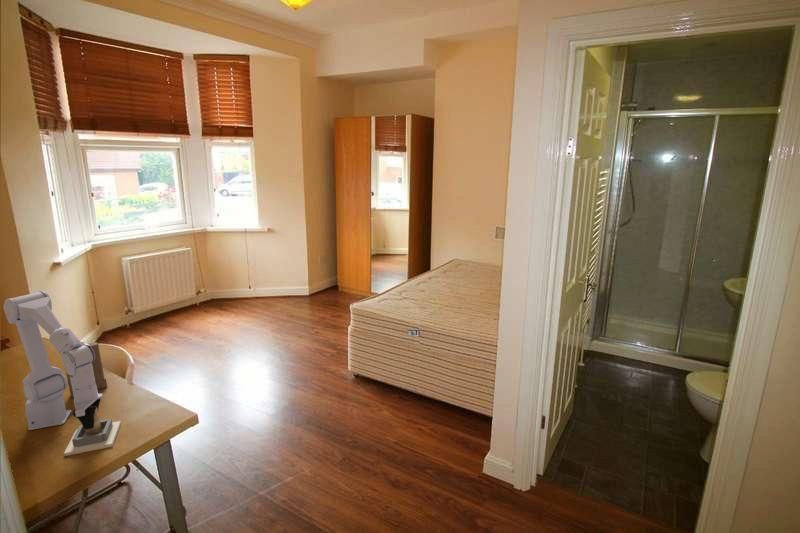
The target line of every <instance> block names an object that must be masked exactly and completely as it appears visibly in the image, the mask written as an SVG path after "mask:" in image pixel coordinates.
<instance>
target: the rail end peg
mask: <svg viewBox="0 0 800 533" xmlns="http://www.w3.org/2000/svg"><path fill="white" fill-rule="evenodd" d="M89 407H90V408H91V407H96V410H95V414H94V427H93V428H91V429H85V433H86V436H90V435H95V434H98V433H100V432H101V424H100V421H101V420H100V415H99V409H97V406H89Z"/></svg>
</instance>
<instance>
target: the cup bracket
mask: <svg viewBox="0 0 800 533" xmlns="http://www.w3.org/2000/svg"><path fill="white" fill-rule="evenodd" d="M100 424H101V432H100V433H98V434H95V435H90V436H86V433H85V428H84V427H83V425H82V424H80V425H79V426H78V427H77V429H76V430H75V431H74V433H73V435H72V437H71V439H70V440H69V443H68V445H67V447H66V448H65V451H64V453H63V455H64V457H66V456H72V455H77V454H81V453H87V452H91V451H97V450H102V449H106V448H111V447H113V446H114V444H115V441H116V438H117V436H118V433H119V430H120V427H121V425H122V421H121V420H118V421H113V420H112V418H111V419H101V420H100Z"/></svg>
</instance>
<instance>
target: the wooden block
mask: <svg viewBox="0 0 800 533" xmlns="http://www.w3.org/2000/svg"><path fill="white" fill-rule="evenodd" d="M88 344H89V345H90V346H91V347H92V349H93V350H94V353H95V360H94V361H92V362H91V363H92V366H93V372H94V377H95V383H96V385H97V391H99V390H102V389H104V388H107V387H108V383H107V378H106V377H105V374H104V368H103V363H102V362H103V361H102V358H101V352H100V346H99V343H98V342H96V341H95V342H89V343H88ZM64 370H65V373H66V379H67V382H68V389H69V393H70V396H71V397H72V398H73V399H74V396H73V391H72V386H71V381H70V376H69V374H67V372H66V369H65V368H64Z"/></svg>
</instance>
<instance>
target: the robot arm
mask: <svg viewBox="0 0 800 533" xmlns="http://www.w3.org/2000/svg"><path fill="white" fill-rule="evenodd" d="M52 304H53V303H52V299H51V297H50V295H49V293H47V292H46V291H44V290H39V291H38V292H37V291H36V292H33V293H29V294H25V295H20V296H16V297H11V298H9V297H8V298H6V299H5V300H4V302H3V306H2V307H3V310H4V314H5V317H6V320H7V322H8V324H11V325H12V324H13V325H15V326H16V329H17V331H18V335H19V339H20V342H21V344H22V347H23V350H24V353H25V356H26V359H27V361H28V362H27V363H28V364H29V365H28V366H29V368H30V369H29V370H30V372H29V373H28V374H27V376H26V377H25V378H24V379H23V380H22V385H23V394H24V396H25V398H26V399H27V400H26V402H25V406H24V412H25V418H26V421H27V425H28V428H27V429H28V431H32V430H38V429H43V428H48V427H49V428H50V427H54V426H55V427H56V426H59V425H60V426H61V425H64V424H65V423H66V422H67V420H68V418H69V416H70V414H71V413H72V416H73V417H75V418H76V419H77V420H79V422H80V423H81V425H83V427H84V428H85V429H91V428H93V427H94V414H95V410H96V407H91V408H90V407H89V406H97V409H98V410H99V407H100V402H101V399H102V398H103V396H104V395H103V393H98V392H99V391H98V390H97V385H96V383H95V377H94V372H93V366H92V363H91V362H92V361H94V360H95V353H94V350H93V349H92V347H91V346H90V345H89V343H86V342H85V341H80V339H79V338H78V337H77V335H76V334H75V333H74V332H73V330H71V329H70V328H67V327H63V326H62V324H61V323H60V321H59V320H58V318H57V317H56V315H55V314H54V313H53V311H52V309H53V308H52V307H53V305H52ZM39 326H40V327H41V328H42V329H43V330H44V331H45V332H46V333H47V334H48V335H49V337H48V341H49V343H50V344H51V345H52V346H53V347H54V349H55V350H56V351H57V352H58V354H59V355H60V356H61V359H60V360H61V363H62V365H63V367H64V370H65V369H66V370H65V373H66V372H67V374H69V376H70V381H71V386H72V391H73V396H74V398H73V404H74V407H75V408H74V409H73V410H72V409H66V404H65V398H64V395H63V394H64V393H65V390H66V389H67V387H68V386H69V384H68V380H67V376H65V375H64V373H63V369H61V368H60V367H57V366H52V364H51V362H50V359H49V356H48V352H47V349H46V347H45V344H44V340H43V337H42V334H41V331H40V328H39ZM67 374H66V375H67Z"/></svg>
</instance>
